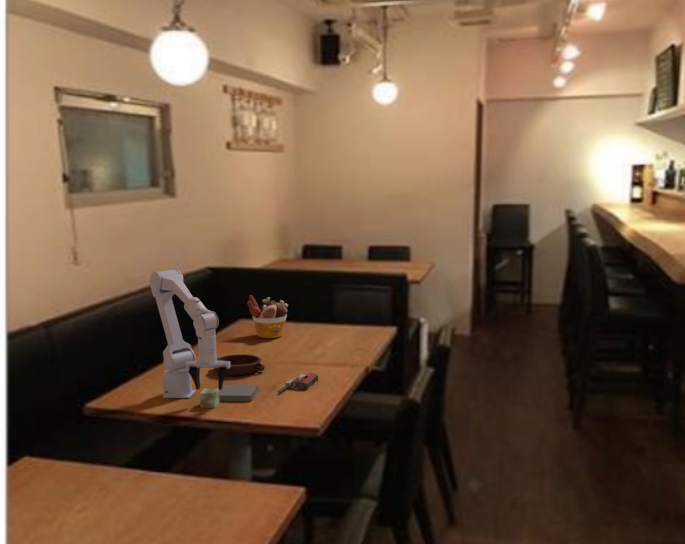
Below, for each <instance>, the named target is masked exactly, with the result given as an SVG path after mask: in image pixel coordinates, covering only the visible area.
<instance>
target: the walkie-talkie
mask: <svg viewBox="0 0 685 544" xmlns="http://www.w3.org/2000/svg"><path fill="white" fill-rule="evenodd" d="M316 381H318V382H319V375H318V374H317V373H312V372H311V373H310V372H304V373H300V374H299V375H298V376H297V377H296V378H291V379H289V380H288V381H286V382H285V383H284V384H285V385H284V386H282V387H281V388H280V389H279V390H277V393H278V394H281V393H282V392H284V391H285V390H286V389H291V388H296V389H295V390H300V389H301V390H300V391H303V389H308V388H309V387H310V386H312V385H313V384H314V383H315V382H316ZM314 385H315V384H314ZM314 385H313V386H314ZM313 386H312V387H313ZM289 387H291V388H289ZM297 388H298V389H297ZM309 389H310V388H309ZM309 389H308V390H309Z"/></svg>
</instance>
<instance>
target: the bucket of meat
mask: <svg viewBox="0 0 685 544" xmlns="http://www.w3.org/2000/svg"><path fill="white" fill-rule="evenodd" d="M248 299H249V300H248V301H246V302H247V303H246V304H247V306H248V308H249V313H250V315H252V316H251V317H252V319H253V323H254V327H255V328H254V329H255V331H256V335H257V336H258V337H259V338H260V337H261V338H260V339H263V338H275V339H278V338H277V337H279V338H281V337H282V336H283V334H284V331H285V325H286V321H287V316H288V307H289V304H288V303H285V301H284V300H282V299H280V300H279V302H276V301H275V300H271V297H266V299H265V298H264V299H262V301H261V302H262V303H263V304H262V305H261V306H259V304H258V302H257V301H256V299H255V297H254V296H253V295H252V294H249V296H248Z"/></svg>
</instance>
